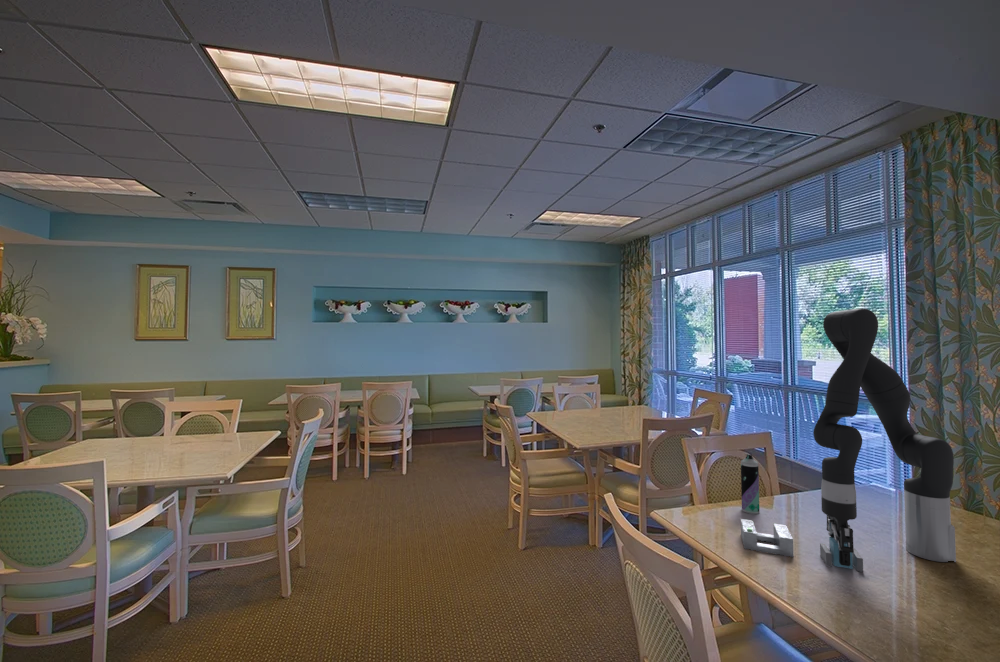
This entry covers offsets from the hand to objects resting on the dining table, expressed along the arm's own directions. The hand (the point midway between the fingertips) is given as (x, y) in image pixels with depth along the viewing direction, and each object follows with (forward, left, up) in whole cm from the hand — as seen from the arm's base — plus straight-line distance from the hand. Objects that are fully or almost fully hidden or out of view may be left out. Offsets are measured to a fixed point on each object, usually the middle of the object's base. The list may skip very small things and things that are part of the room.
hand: (839, 557), depth 116 cm
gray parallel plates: (0, 0, -2) cm, 2 cm away
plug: (0, 0, -2) cm, 2 cm away
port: (+17, -4, -2) cm, 17 cm away
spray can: (+18, -32, -2) cm, 37 cm away
